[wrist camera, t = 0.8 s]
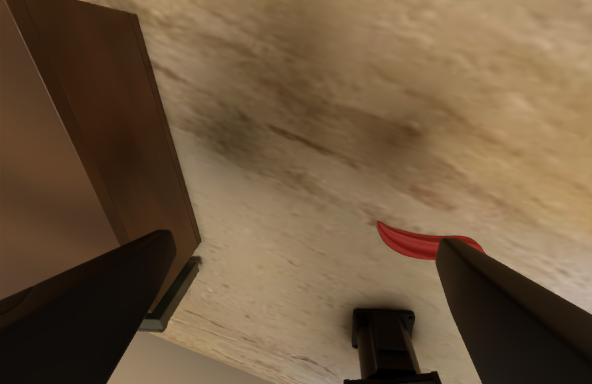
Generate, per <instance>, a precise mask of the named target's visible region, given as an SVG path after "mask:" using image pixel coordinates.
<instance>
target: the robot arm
mask: <svg viewBox="0 0 592 384" xmlns="http://www.w3.org/2000/svg"><path fill="white" fill-rule="evenodd" d="M176 254H177V247H176V243H175V240H174V237H173V234H172V232H171V231H170V230H166V229H159V230H156V231H153V232H151V233H149V234H147V235H144V236H142V237H140V238H138V239H136V240H133V241H131V242H129V243H127V244H124V245H122V246H120V247H118V248H115V249H113V250H111V251H109V252H107V253H104V254H102V255H100V256H98V257H95V258H93V259H91V260H89V261H87V262H84V263H82V264H80V265H78V266H75V267H73V268H71V269H69V270H67V271H64V272H62V273H60V274H58V275H55V276H53V277H51V278H49V279H47V280H44V281H42V282H40V283H38V284H36V285H35V286H31V287H29V288H26V289H24V290H22V291H20V292H17V293H15V294H13V295H11V296H8V297H6V298H4V299H2V300H0V384H107V382H108V380H109V378H110V377H111V375H112V373H113V371H114V370H115V368H116V366H117V365H118V363H119V361H120V360H121V358H122V356H123V354H124V353H125V351H126V349H127V347H128V346H129V344H130V342H131V340H132V339H133V337H134V335H135V334H136V332H137V330H138V329H139V327H140V325H141V323H142V322H143V320H144V318H145V316H146V315H147V313H148V311H149V310H150V308H151V306H152V304H153V303H154V301H155V299H156V297H157V296H158V294H159V292H160V290H161V288H162V285H163V283H164V281H165V279H166V277H167V275H168V272H169V270H170V268H171V266H172V264H173V261H174V259H175V257H176ZM435 261H436V267H437V270H438V273H439V277H440V280H441V283H442V286H443V289H444V293H445V296H446V299H447V302H448V305H449V308H450V311H451V313H452V316H453V318H454V321H455V323H456V325H457V327H458V330H459V332H460V334H461V336H462V339H463V341H464V343H465V346H466V348H467V350H468V352H469V355H470V357H471V359H472V361H473V364H474V366H475V368H476V371H477V373H478V375H479V377H480V380H481V382H482V384H592V314H590V313H588V312H586V311H585V310H583V309H581V308H579V307H578V306H576V305H574V304H572V303H571V302H569V301H567V300H565V299H563V298H562V297H560V296H558V295H556V294H555V293H553V292H551V291H549V290H548V289H546V288H544V287H542V286H541V285H539V284H537V283H535V282H534V281H532V280H530V279H528V278H527V277H525V276H523V275H521V274H519V273H518V272H516V271H514V270H512V269H511V268H509V267H507V266H505V265H504V264H502V263H500V262H498V261H497V260H495V259H493V258H491V257H490V256H488V255H486V254H484V253H483V252H481V251H479V250H477V249H476V248H474V247H472V246H470V245H468V244H467V243H465V242H463V241H461V240H460V239H458V238H453V237H443V238H441V240H440V242H439V246H438V250H437V254H436V260H435ZM414 321H415V315H414V313H413V312H412V311H395V310H371V309H355V310H354V311H353V326H352V347H353V348H355V349H358V352H359V361H360V370H361V379H358V380H349V379H346V380H344V384H442V383H441V381H440V378H439V375H438V373H437V371H432V372H431V373H423V374H421V371H420V368H419V364H418V361H417V358H416V354H415V351H414V348H413V345H412V341H411V335H412V331H413V326H414Z"/></svg>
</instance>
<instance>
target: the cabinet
mask: <svg viewBox="0 0 592 384" xmlns="http://www.w3.org/2000/svg"><path fill="white" fill-rule="evenodd" d="M159 229H166V230H170V231H171V232H172V234H173V237H174V240H175V243H176V247H177V254H176V257H175V259H174V261H173V264H172V266H171V268H170V270H169V272H168V275H167V277H166V279H165V281H164V283H163V285H162V288H161V290H160V292H159V294H158V296H157V297H156V299H155V301H154V303H153V304H152V306H151V308H150V310H149V311H148V313H152V312H153V310H154V309H155V307H156V306H157V304H158V303H159V302H160V300H161V299H162V297H163V296H164V294H165V293H166V291H167V290H168V289H169V287H170V286H171V284H172V283H173V281H174V280H175V278H176V277H177V276H178V274H179V273H180V271H181V270H182V268H183V267H184V265H185V264H186V263H187V261H188V260H189V258H190V257H191V255H192V254H193V252H194V251H195V250H196V248H197V247H198V245H199V244H200V242H201V239H200V235H199V232H198V228H197V225H196V221H195V218H194V214H193V211H192V207H191V204H190V200H189V197H188V193H187V190H186V187H185V183H184V180H183V176H182V173H181V169H180V166H179V162H178V159H177V155H176V152H175V148H174V145H173V141H172V138H171V134H170V131H169V128H168V124H167V121H166V117H165V114H164V110H163V107H162V103H161V100H160V96H159V93H158V89H157V86H156V82H155V79H154V76H153V72H152V69H151V65H150V62H149V58H148V55H147V51H146V48H145V44H144V41H143V37H142V34H141V30H140V27H139V23H138V20H137V17H136V15H135V14H132V13H128V12H124V11H120V10H116V9H112V8H108V7H104V6H100V5H96V4H91V3H87V2H83V1H79V0H0V300H2V299H4V298H6V297H8V296H11V295H13V294H15V293H17V292H20V291H22V290H24V289H26V288H29V287H31V286H35V285H36V284H38V283H40V282H42V281H44V280H47V279H49V278H51V277H53V276H55V275H58V274H60V273H62V272H64V271H67V270H69V269H71V268H73V267H75V266H78V265H80V264H82V263H84V262H87V261H89V260H91V259H93V258H95V257H98V256H100V255H102V254H104V253H107V252H109V251H111V250H113V249H115V248H118V247H120V246H122V245H124V244H127V243H129V242H131V241H133V240H136V239H138V238H140V237H142V236H144V235H147V234H149V233H151V232H153V231H156V230H159Z"/></svg>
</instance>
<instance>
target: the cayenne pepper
mask: <svg viewBox="0 0 592 384" xmlns="http://www.w3.org/2000/svg"><path fill="white" fill-rule="evenodd" d="M377 227H378V231H379V233H380V236H381V238H382V239H383V241H384V242H385V243H386V244H387V245H388V246H389V247H390V248H391V249H393V250H394V251H396V252H398V253H400V254H402V255H405V256H409V257H413V258H418V259H426V260H436V254H437V250H438V246H439V242H440V240H441V238H443V237H453V238H458V239H460V240H461V241H463V242H465V243H467V244H468V245H470V246H472V247H474V248H476V249H477V250H479V251H481V252H483V253H484V254H485V252H484V251H483V249H482V248H481V246H480V245H479V244H478V243H477V242H475V241H474V240H472V239H470V238H467V237H463V236H427V235H420V234H414V233H409V232H405V231H401V230H397V229H394V228H391V227H388V226H386V225H385V224H383V223H381V222H379V221H378V223H377Z"/></svg>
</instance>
